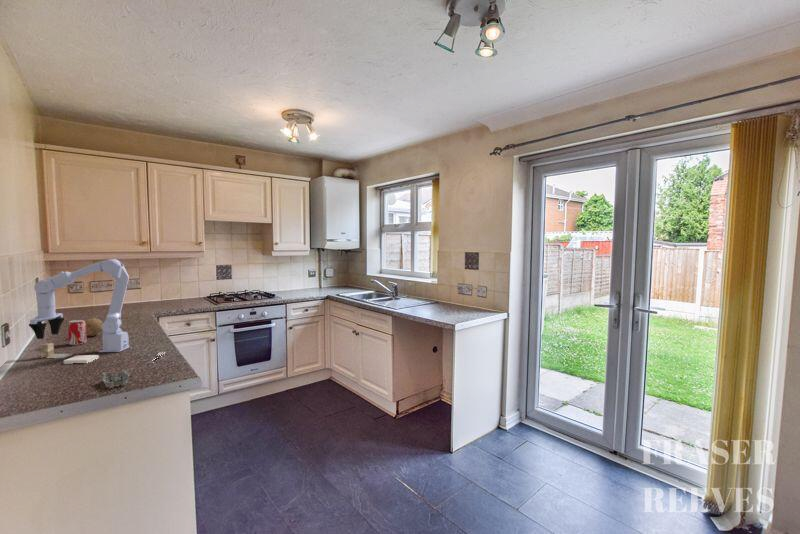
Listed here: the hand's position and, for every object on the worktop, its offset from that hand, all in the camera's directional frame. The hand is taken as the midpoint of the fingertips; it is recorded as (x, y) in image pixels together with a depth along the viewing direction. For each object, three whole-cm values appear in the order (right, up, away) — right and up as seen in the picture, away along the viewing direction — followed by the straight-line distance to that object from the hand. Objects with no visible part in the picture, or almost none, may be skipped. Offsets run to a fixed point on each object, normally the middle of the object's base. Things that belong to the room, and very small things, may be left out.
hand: (47, 336), depth 159 cm
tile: (+15, -9, -5) cm, 18 cm away
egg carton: (+53, -13, -27) cm, 61 cm away
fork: (+50, -11, -4) cm, 52 cm away
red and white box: (-6, -8, +21) cm, 23 cm away
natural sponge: (-11, -7, +36) cm, 39 cm away
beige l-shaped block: (+3, -9, +1) cm, 10 cm away
